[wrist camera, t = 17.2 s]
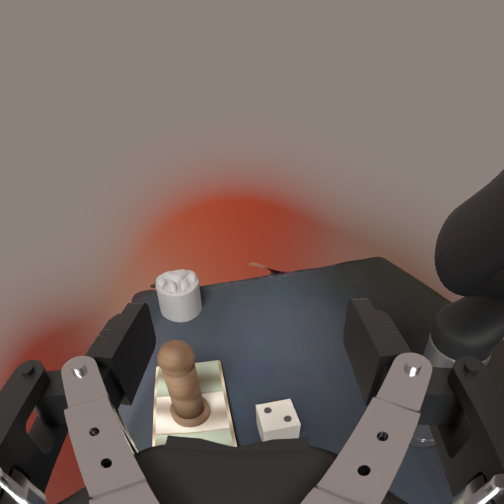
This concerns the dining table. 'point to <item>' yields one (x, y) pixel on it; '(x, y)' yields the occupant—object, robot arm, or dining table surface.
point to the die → (277, 420)
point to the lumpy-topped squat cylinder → (179, 295)
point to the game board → (215, 394)
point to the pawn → (183, 384)
